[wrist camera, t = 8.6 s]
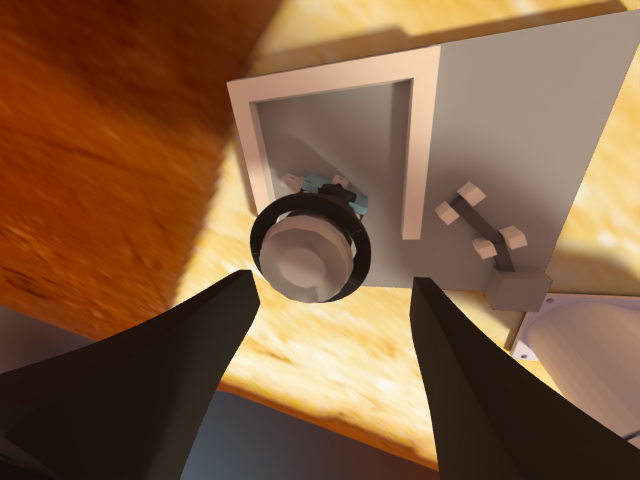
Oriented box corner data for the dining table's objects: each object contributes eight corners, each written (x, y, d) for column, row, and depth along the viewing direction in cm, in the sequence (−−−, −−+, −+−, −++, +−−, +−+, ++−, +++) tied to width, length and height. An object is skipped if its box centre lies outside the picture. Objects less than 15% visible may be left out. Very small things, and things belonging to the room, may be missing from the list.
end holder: (435, 51, 13) (440, 45, 12) (417, 232, 18) (419, 239, 17) (236, 84, 15) (226, 82, 14) (269, 233, 20) (264, 239, 19)
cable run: (492, 168, 15) (504, 173, 13) (549, 290, 18) (564, 305, 16) (429, 202, 17) (435, 210, 15) (491, 308, 20) (500, 323, 18)
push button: (279, 204, 19) (202, 277, 10) (298, 139, 16) (215, 163, 8) (352, 236, 19) (338, 334, 10) (384, 176, 16) (399, 242, 8)
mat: (633, 14, 11) (654, 6, 10) (527, 285, 19) (535, 293, 18) (238, 82, 16) (230, 80, 15) (281, 276, 24) (277, 282, 23)
